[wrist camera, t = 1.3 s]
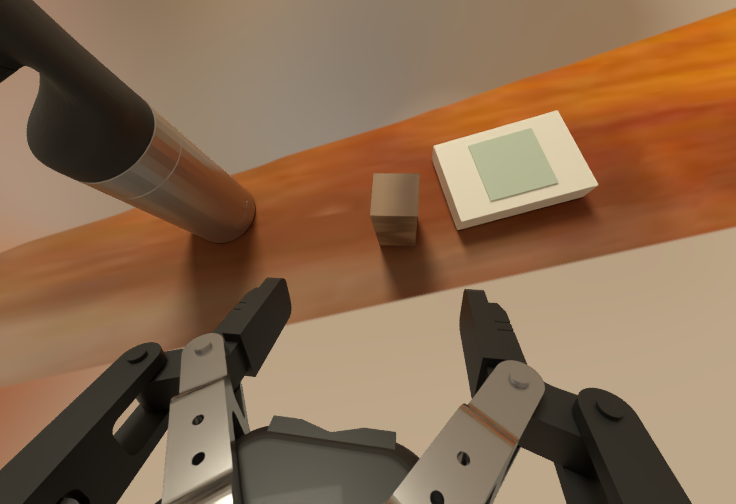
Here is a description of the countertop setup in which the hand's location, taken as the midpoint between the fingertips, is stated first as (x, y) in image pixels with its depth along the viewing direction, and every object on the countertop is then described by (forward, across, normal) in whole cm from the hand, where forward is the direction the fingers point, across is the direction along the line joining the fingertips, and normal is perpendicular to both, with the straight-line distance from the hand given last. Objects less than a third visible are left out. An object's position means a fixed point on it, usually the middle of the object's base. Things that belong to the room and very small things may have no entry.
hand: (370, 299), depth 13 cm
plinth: (+30, -13, +2) cm, 33 cm away
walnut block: (+24, 0, +8) cm, 25 cm away
